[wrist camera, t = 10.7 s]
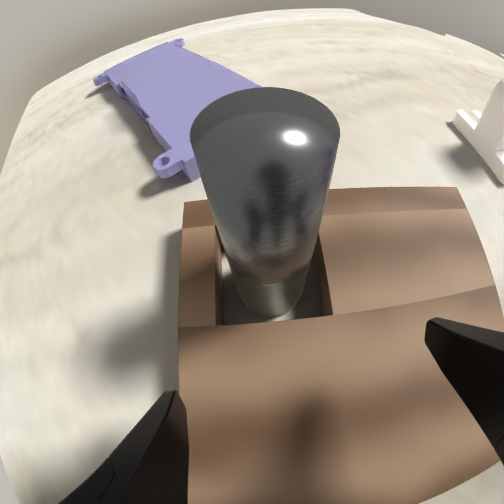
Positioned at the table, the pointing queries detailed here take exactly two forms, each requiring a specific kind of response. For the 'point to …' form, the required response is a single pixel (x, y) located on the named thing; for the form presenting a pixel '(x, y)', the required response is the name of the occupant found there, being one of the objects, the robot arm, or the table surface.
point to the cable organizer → (486, 130)
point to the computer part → (172, 97)
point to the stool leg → (267, 187)
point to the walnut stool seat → (338, 360)
